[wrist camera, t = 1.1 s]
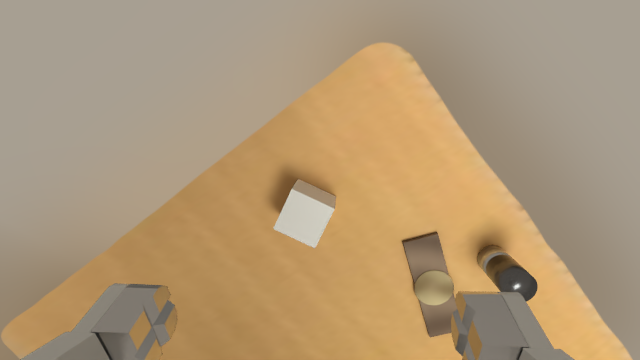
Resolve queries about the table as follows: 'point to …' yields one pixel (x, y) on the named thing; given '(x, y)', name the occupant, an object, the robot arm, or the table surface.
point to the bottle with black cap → (506, 272)
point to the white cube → (305, 213)
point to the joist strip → (431, 282)
